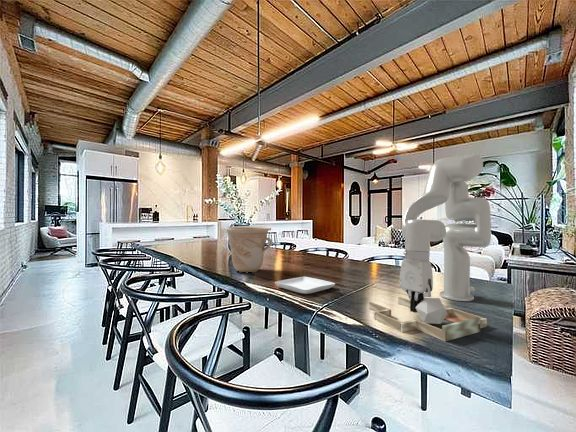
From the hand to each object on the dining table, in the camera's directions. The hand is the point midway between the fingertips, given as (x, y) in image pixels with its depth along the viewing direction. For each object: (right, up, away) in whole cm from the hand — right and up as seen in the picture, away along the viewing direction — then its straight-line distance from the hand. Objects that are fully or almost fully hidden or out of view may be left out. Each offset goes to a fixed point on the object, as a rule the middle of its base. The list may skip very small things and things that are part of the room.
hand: (415, 311), depth 95 cm
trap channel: (+1, -3, +1) cm, 3 cm away
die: (+3, -2, -2) cm, 4 cm away
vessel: (-67, -3, +81) cm, 106 cm away
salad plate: (-34, -3, +40) cm, 53 cm away
